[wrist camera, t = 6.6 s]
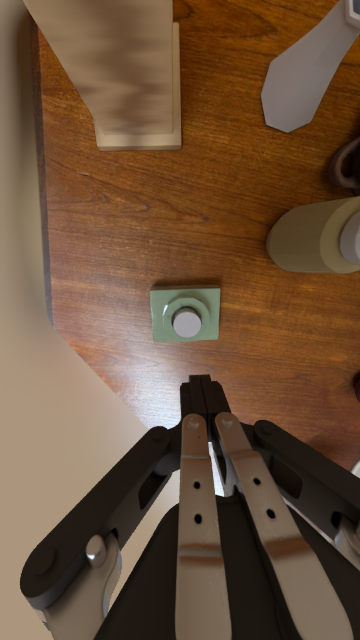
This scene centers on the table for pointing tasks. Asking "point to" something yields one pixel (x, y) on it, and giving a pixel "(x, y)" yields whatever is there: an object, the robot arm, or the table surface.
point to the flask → (308, 68)
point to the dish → (356, 181)
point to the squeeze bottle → (318, 237)
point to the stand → (120, 66)
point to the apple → (357, 390)
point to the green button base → (187, 296)
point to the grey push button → (186, 322)
